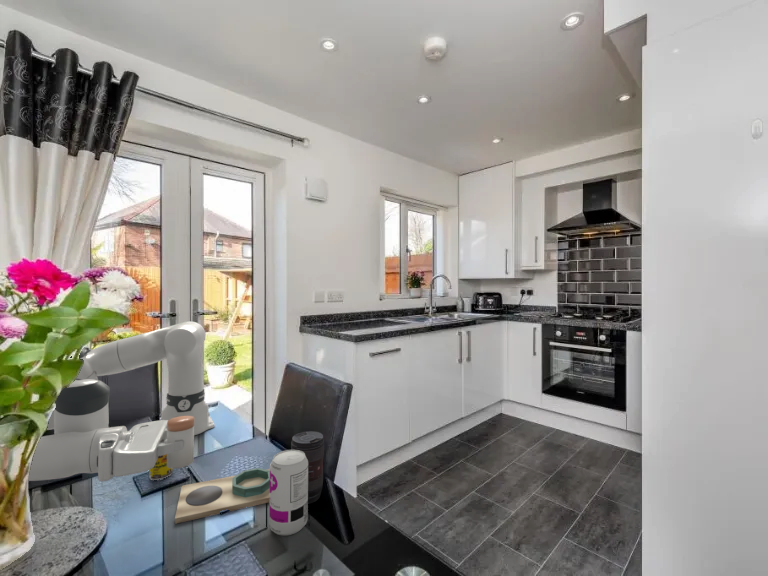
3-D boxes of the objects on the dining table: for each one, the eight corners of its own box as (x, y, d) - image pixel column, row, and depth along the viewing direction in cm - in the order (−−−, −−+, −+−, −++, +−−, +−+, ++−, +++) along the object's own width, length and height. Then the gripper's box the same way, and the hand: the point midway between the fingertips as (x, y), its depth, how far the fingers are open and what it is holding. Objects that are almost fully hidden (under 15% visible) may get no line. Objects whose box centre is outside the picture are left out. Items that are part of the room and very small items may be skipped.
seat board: (181, 490, 91) (182, 477, 91) (271, 472, 100) (271, 461, 100) (174, 523, 78) (174, 509, 78) (277, 500, 87) (278, 487, 87)
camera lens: (330, 493, 90) (330, 435, 90) (306, 510, 84) (307, 446, 84) (307, 483, 95) (308, 427, 95) (283, 498, 88) (284, 438, 88)
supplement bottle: (149, 483, 94) (149, 445, 94) (149, 474, 99) (149, 437, 99) (173, 477, 97) (173, 440, 97) (172, 468, 102) (172, 433, 102)
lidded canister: (168, 459, 84) (169, 417, 84) (194, 455, 86) (195, 414, 86) (164, 470, 79) (165, 425, 79) (192, 466, 81) (193, 422, 81)
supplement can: (268, 540, 73) (269, 468, 73) (269, 516, 81) (270, 450, 81) (308, 533, 76) (309, 463, 76) (306, 510, 84) (306, 446, 84)
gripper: (126, 443, 87) (189, 434, 93) (97, 486, 68) (179, 472, 74) (126, 417, 87) (190, 410, 93) (97, 453, 68) (179, 442, 74)
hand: (185, 438), depth 83 cm, fingers closed on lidded canister, 5 cm apart
